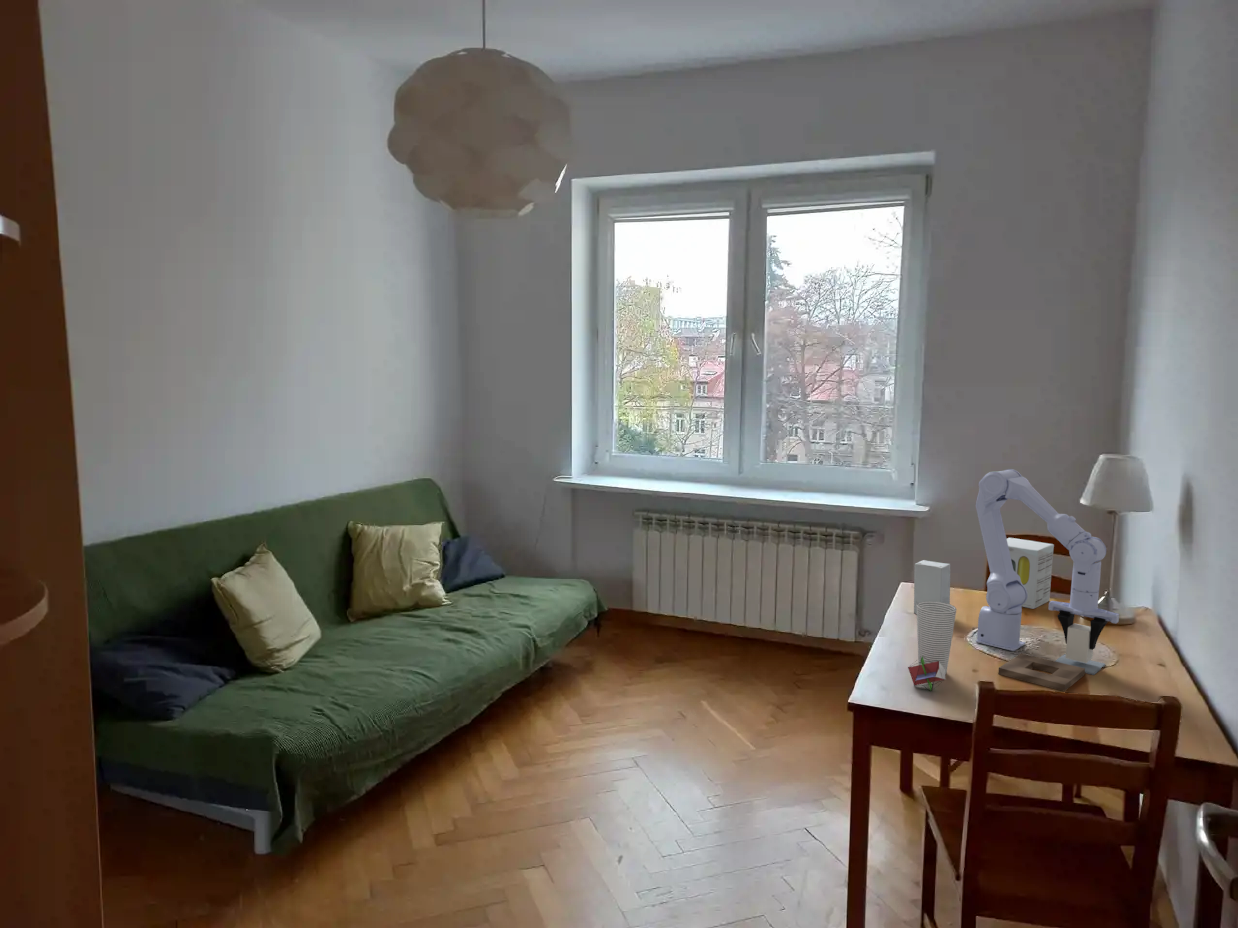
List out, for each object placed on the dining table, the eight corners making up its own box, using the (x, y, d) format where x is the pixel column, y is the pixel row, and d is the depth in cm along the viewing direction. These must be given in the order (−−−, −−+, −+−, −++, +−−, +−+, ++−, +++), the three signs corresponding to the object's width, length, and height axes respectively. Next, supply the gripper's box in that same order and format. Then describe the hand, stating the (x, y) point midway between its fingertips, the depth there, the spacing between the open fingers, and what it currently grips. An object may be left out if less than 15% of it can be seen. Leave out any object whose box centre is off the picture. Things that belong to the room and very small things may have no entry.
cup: (931, 681, 188) (935, 613, 186) (904, 668, 196) (908, 603, 194) (960, 675, 191) (965, 609, 190) (933, 663, 199) (936, 599, 197)
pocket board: (998, 673, 193) (998, 667, 193) (1020, 659, 203) (1021, 653, 203) (1064, 691, 183) (1065, 684, 183) (1084, 674, 193) (1085, 668, 193)
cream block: (1065, 658, 199) (1068, 627, 198) (1071, 653, 202) (1074, 623, 201) (1086, 662, 196) (1089, 631, 195) (1092, 658, 199) (1094, 627, 198)
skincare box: (949, 615, 237) (953, 564, 235) (939, 620, 233) (943, 567, 231) (921, 609, 243) (924, 558, 241) (911, 613, 239) (914, 561, 237)
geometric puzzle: (899, 679, 183) (924, 654, 180) (902, 668, 189) (926, 644, 187) (926, 702, 181) (952, 678, 179) (928, 691, 188) (953, 667, 185)
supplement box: (987, 599, 254) (991, 542, 252) (1005, 591, 263) (1009, 536, 261) (1034, 609, 244) (1038, 550, 242) (1050, 601, 254) (1054, 543, 252)
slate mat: (1051, 664, 200) (1051, 662, 200) (1064, 655, 206) (1064, 653, 206) (1093, 674, 193) (1093, 673, 193) (1105, 665, 200) (1105, 663, 200)
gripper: (1046, 586, 200) (1041, 641, 201) (1114, 599, 189) (1109, 657, 191) (1056, 581, 205) (1051, 635, 206) (1123, 593, 194) (1118, 650, 196)
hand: (1080, 645), depth 199 cm, fingers closed on cream block, 4 cm apart
